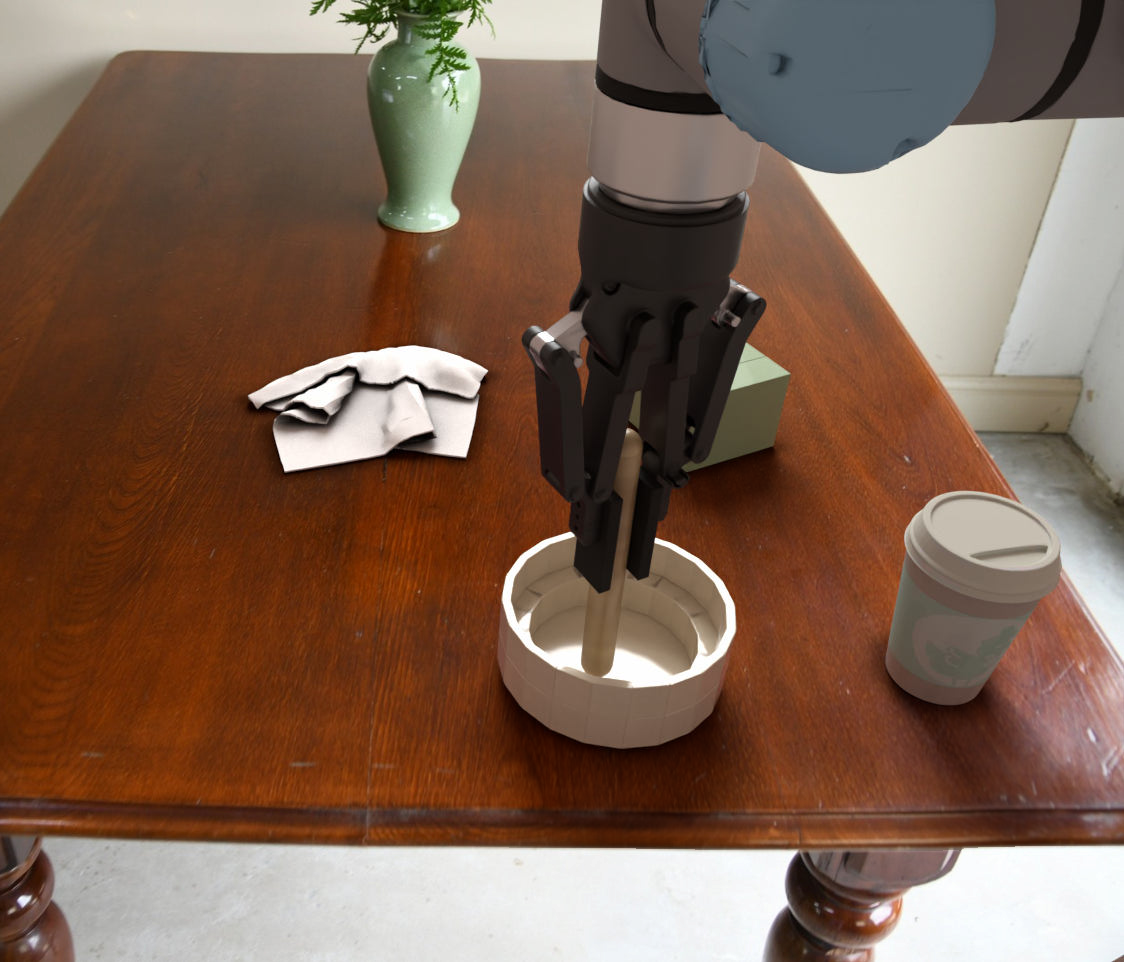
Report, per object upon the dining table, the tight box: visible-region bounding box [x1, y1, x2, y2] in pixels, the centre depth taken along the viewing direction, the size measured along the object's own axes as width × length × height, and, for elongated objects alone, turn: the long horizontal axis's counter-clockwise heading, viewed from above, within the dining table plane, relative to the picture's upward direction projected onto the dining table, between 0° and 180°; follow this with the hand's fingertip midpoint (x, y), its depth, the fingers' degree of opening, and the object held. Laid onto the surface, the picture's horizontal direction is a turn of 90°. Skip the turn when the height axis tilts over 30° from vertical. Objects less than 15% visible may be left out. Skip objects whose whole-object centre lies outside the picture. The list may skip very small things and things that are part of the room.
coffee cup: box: [884, 490, 1063, 706], centre depth 69 cm, size 8×8×12 cm
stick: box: [581, 427, 643, 677], centre depth 65 cm, size 2×2×18 cm
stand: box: [629, 342, 792, 473], centre depth 93 cm, size 9×9×7 cm
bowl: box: [496, 531, 738, 750], centre depth 71 cm, size 14×14×6 cm
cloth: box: [247, 345, 489, 474], centre depth 97 cm, size 20×22×2 cm
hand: (610, 570), depth 65 cm, fingers closed on stick, 2 cm apart
